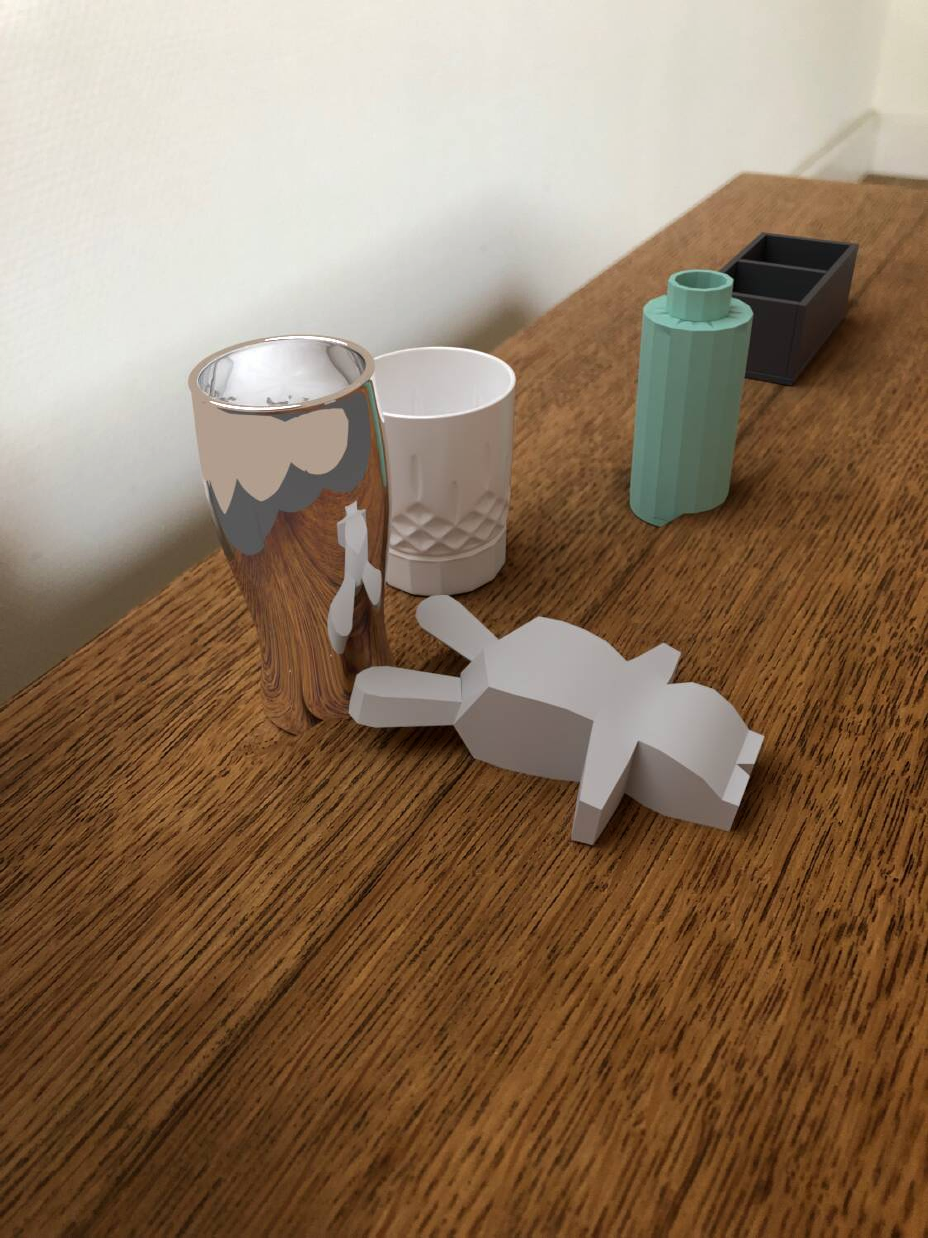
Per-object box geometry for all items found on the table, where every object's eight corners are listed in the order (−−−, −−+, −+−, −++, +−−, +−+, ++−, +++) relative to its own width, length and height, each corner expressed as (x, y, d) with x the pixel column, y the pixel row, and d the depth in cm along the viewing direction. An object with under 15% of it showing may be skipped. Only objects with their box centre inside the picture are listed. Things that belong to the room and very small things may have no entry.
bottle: (670, 472, 59) (691, 255, 52) (744, 505, 56) (779, 278, 49) (610, 504, 57) (623, 280, 49) (684, 541, 54) (711, 306, 46)
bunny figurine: (729, 833, 32) (326, 669, 37) (694, 925, 36) (328, 764, 40) (792, 660, 39) (445, 539, 44) (758, 751, 42) (438, 630, 47)
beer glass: (236, 667, 46) (166, 352, 37) (381, 628, 48) (348, 319, 39) (273, 767, 41) (201, 428, 32) (433, 718, 43) (408, 386, 34)
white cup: (430, 626, 48) (417, 434, 42) (333, 559, 53) (310, 379, 47) (548, 561, 52) (551, 378, 46) (448, 505, 57) (440, 333, 51)
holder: (844, 317, 78) (859, 243, 74) (792, 386, 68) (806, 305, 65) (751, 303, 81) (761, 231, 77) (689, 367, 71) (697, 288, 68)
